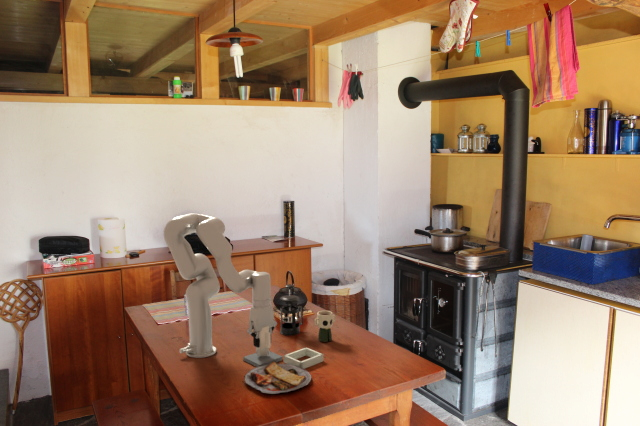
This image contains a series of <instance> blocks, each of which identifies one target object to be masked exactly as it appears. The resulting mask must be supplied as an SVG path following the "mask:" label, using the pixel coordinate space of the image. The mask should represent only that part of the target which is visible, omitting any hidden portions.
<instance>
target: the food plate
mask: <svg viewBox="0 0 640 426" xmlns="http://www.w3.org/2000/svg"><path fill="white" fill-rule="evenodd" d="M243 379H244V383H245V384H246V385H248V386H249V387H251V388H253V389H255V390H258V391H260V392H261V393H263V394H269V395H270V394H271V395H275V394H280V393H288V392H291V391H297V390H299V389H300V388H303V387H305V386H307V385H309V384H310V382H311V380H312V375H311V374H310V372H309V371H308V370H307V369H306V368H305V369H303V368H300V367H296V366H294V365H290V364H286V363H278V362H276V363H275V362H272V363H271V364H269V365H263V366H259V367H256V366H254V367H253V368H252V369H249V371H248V372H246V373H245V375H244V377H243ZM292 386H293V387H292ZM290 387H291V388H290ZM269 389H270V390H269ZM273 389H274V390H273ZM277 389H278V390H277Z"/></svg>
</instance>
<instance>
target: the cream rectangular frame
mask: <svg viewBox="0 0 640 426" xmlns="http://www.w3.org/2000/svg"><path fill="white" fill-rule="evenodd" d="M303 357H309V358H306V359H303V360H298V359H301V358H303ZM322 362H324V353H321V352H318V351H316V350H314V349H311V348H309V347H303V348H301V349H298V350H294V351H292V352H289V353H287V354H284V355H283V364H290V365H294V366H296V367H300V368H303V370H304V369H305V370H306V369H307V368H309V367H312V366H315V365H317V364H320V363H322Z"/></svg>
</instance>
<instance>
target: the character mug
mask: <svg viewBox="0 0 640 426" xmlns="http://www.w3.org/2000/svg"><path fill="white" fill-rule="evenodd" d="M335 322H336V314H334V313H333V312H332V311H331V310H319V311H318V312H317V314H316V318H314V326H317V328H319V330H318V338H317V340H318V341H320V342H327V343H328V342H331V341H332V340H333V337H332V336H333V335H332V329H331V328H332V327H333V325H334V323H335Z"/></svg>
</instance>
